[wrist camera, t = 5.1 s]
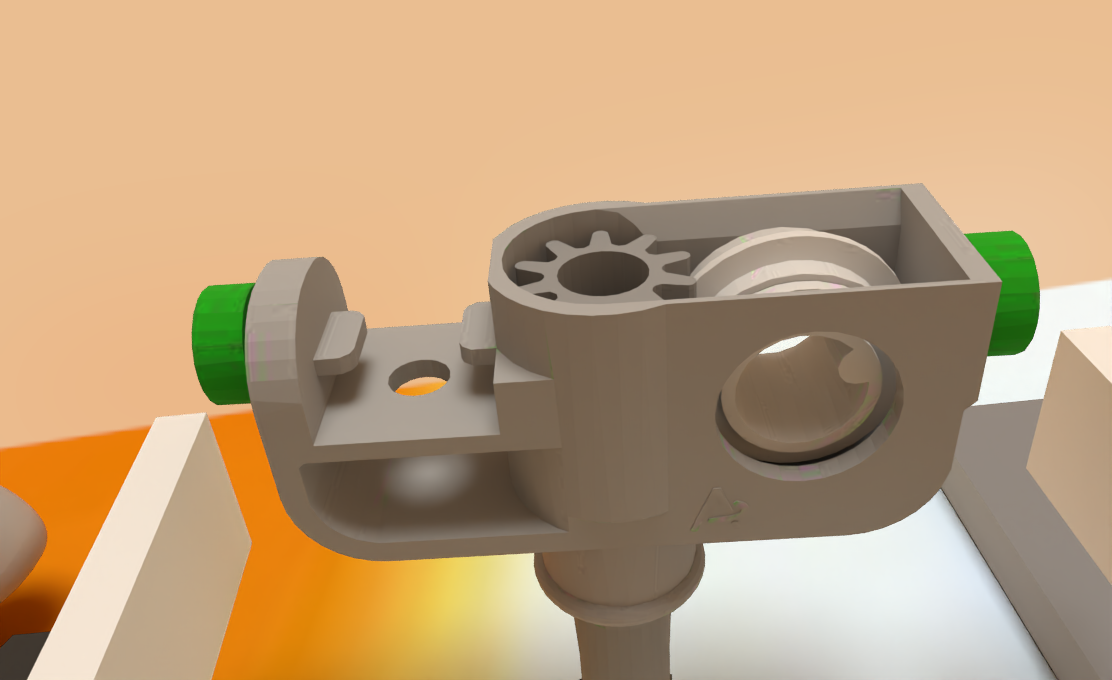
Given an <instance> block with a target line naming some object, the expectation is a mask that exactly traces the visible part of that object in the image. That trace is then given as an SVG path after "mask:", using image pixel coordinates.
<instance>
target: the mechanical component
mask: <svg viewBox="0 0 1112 680" xmlns="http://www.w3.org/2000/svg"><path fill="white" fill-rule="evenodd" d="M488 286H489V294H490V302H477V303H475V304H472V305H470V306H468V307H467V308H466V309H465V310H464V313H463V320H462V323H447V324H432V325H418V326H404V327H403V326H402V327H387V328H373V329H367V328H366V323H365V318H364V315H362V314H361V313H360V312H357V311H348V309H347V305H346V300H345V297H344V293H343V289H342V286H341V283H340V280H339V278H338V275H337V273H336V271H335V269H334V267H333V266H332V265H331V263H330V262H329V261H328V260H327V259H326V258H324V257H311V258H297V259H282V260H272V261H270V262H269V263H268V264H266V266H265V267H264V269H263V270H262V272H261V273H260V275H259V277H258V279H257V281H256V283H246V284H230V285H213V286H208V287H207V288H206V289H204V290H203V291H202V292H201V294H200V296H199V298H198V300H197V303H196V307H195V310H194V314H193V324H192V350H193V357H194V365H195V369H196V373H197V376H198V380H199V382H200V385H201V387H202V389H203V391H204V393H205V394H206V396H207V397H208V398H209V400H210V401H212V402H213V403H215V404H216V405H227V404H228V405H229V404H246V403H251V405H252V409H253V413H254V417H255V420H256V423H257V426H258V429H259V433H260V436H261V439H262V442H263V445H264V448H265V452H266V455H267V458H268V461H269V464H270V467H271V471H272V474H273V477H274V480H275V483H276V486H277V490H278V493H279V496H280V499H281V501H282V504H283V506H284V508H285V510H286V512H287V514H288V515H289V517H290V518H291V519H292V521H293V522H294V523H295V525H296V526H297V527H298V528H299V529H301V530H302V531H303V532H304V533H305V534H306V535H307V536H308V537H310V538H311V539H313V540H314V541H316V542H317V543H319V544H320V545H322V546H324V547H326V548H328V549H330V550H333V551H335V552H337V553H340V554H343V555H347V556H350V557H353V558H358V559H365V560H371V561H400V560H418V559H435V558H453V557H471V556H488V555H506V554H523V553H534V568H535V573H536V577H537V579H538V582H539V584H540V586H541V588H542V590H543V591H544V593H545V594H546V596H547V597H548V598H549V599H550V600H551V601H552V602H553V603H554V604H555V605H557V606H558V607H559V608H560V609H562V610H563V611H564V612H566V613H568V614H570V615H571V616H573V617H574V620H575V626H576V632H577V639H578V645H579V651H580V661H581V673H582V679H580V680H672V674H670V653H669V644H670V620H671V612H673V611H675V610H676V609H677V608H679V607H680V606H681V605H683V604H684V603H685V602H686V601H687V600H688V598H689V597H690V596H691V595H692V594H693V592H694V591H695V590H696V588H697V587H698V585H699V583H700V580H701V578H702V576H703V572H704V567H705V552H704V547H703V543H717V542H735V541H753V540H770V539H788V538H806V537H823V536H841V535H852V534H860V533H866V532H870V531H874V530H878V529H881V528H884V527H887V526H889V525H892V524H894V523H896V522H899V521H901V520H903V519H904V518H906V517H908V516H909V515H911V514H913V513H914V512H916V511H917V510H919V509H920V508H921V507H922V506H923V505H925V504H926V503H927V502H928V501H930V500H931V498H932V497H933V496H934V495H935V494H936V493H937V492H938V490H939V489H940V488H941V487H942V485H943V483H944V481H945V480H946V478H947V476H948V474H949V473H950V471H951V468H952V463H953V458H954V454H955V449H956V445H957V440H958V435H959V431H960V426H961V421H962V417H963V412H964V410H965V409H967V408H968V407H970V406H971V405H972V404H974V403H975V402H976V401H978V397H979V392H980V387H981V382H982V377H983V373H984V368H985V363H986V358H987V356H1002V355H1015V354H1018V353H1020V352H1023V351H1025V349H1026V348H1027V346H1028V345H1029V344H1030V342H1031V341H1032V339H1033V337H1034V333H1035V330H1036V327H1037V323H1038V317H1039V309H1040V289H1039V280H1038V274H1037V270H1036V265H1035V261H1034V258H1033V256H1032V253H1031V251H1030V249H1029V247H1028V245H1027V243H1026V242H1025V241H1024V239H1023V238H1022V237H1021V236H1020V235H1019V234H1017V233H1015V232H1014V231H1001V232H985V233H970V234H963V233H962V231H961V230H960V229H959V228H958V227H957V225H956V224H955V223H954V222H953V220H952V219H951V218H950V217H949V216H948V214H947V213H946V212H945V211H944V209H943V208H942V207H941V206H940V205H939V203H938V202H937V201H936V200H935V198H934V197H933V196H932V195H931V193H930V192H929V191H928V190H927V188H926V187H925V186H924V185H923V184H922V183H920V184H905V185H891V186H877V187H863V188H849V189H835V190H821V191H807V192H793V193H780V194H764V195H750V196H738V197H737V196H736V197H723V198H708V199H694V200H680V201H666V202H652V203H641V202H629V201H601V202H589V203H581V204H574V205H569V206H563V207H559V208H555V209H551V210H547V211H544V212H541V213H538V214H536V215H533V216H530V217H527V218H525V219H523V220H521V221H519V222H517V223H515V224H513V225H511V226H510V227H509V228H507V229H506V230H505V231H503V232H502V233H501V234H499V235H498V236H497V237H495V238H494V239H493V244H492V252H491V260H490V268H489V277H488ZM798 336H809V337H808V338H806V339H805V340H803V341H802V342H800V343H799V344H798V345H796V346H794V347H791V348H789V349H786V350H783V351H781V352H776V353H765V354H759V353H760V352H761V351H763V350H764V349H766V348H768V347H770V346H772V345H774V344H776V343H778V342H780V341H782V340H786V339H790V338H794V337H798ZM420 377H421V378H422V377H437V378H441V379H443V380H445V381H447V383H446V384H445V385H444V386H443V387H441V388H440V389H438V390H436V391H434V392H432V393H429V394H425V395H419V396H405V395H400V394H398V393H396V392H395V391H396V390H397V389H398V388H399V387H400V386H401V385H402V384H404V383H406V382H408V381H410V380H413V379H416V378H420Z"/></svg>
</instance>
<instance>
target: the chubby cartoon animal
mask: <svg viewBox="0 0 1112 680" xmlns="http://www.w3.org/2000/svg"><path fill="white" fill-rule="evenodd" d="M46 542H47V531H46V528H45V525H44V523H43V521H42V519H41V518H40V516H39V515H38V514H37V513H36V512H35V510H34V509H33V508H32V507H31V506H29V505H28V504H27V503H26V502H25V501H24V500H22V499H21V498H20V497H18V496H17V495H16V494H14V493H12V492H11V491H9V490H8V489H6V488H4V487H2V486H0V603H1V602H2V601H4V600H5V599H6V598H7V597H8V596H9V595H10V594H11V593H13V592H14V591H15V590H16V589H17V588H18V587H19V586H20V584H21V583H22V582H23V581H24V580H25V579H26V577H27V576H28V575H29V574H30V573H31V571H32V570H33V568H34V567H35V565H36V564H37V562H38V561H39V559H40V557H41V556H42V554H43V552H44V549H45V547H46Z"/></svg>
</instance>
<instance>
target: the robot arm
mask: <svg viewBox="0 0 1112 680" xmlns="http://www.w3.org/2000/svg"><path fill="white" fill-rule="evenodd" d="M1026 469H1027V470H1028V471H1029V473H1030V474H1031V475H1032V477H1033V478H1034V480H1035V481H1036V482H1037V484H1038V485H1039V486H1040V488H1041V489H1042V491H1043V492H1044V493H1045V495H1046V496H1047V497H1048V499H1049V500H1050V502H1051V503H1052V504H1053V506H1054V507H1055V508H1056V510H1057V511H1058V512H1059V514H1060V515H1061V517H1062V518H1063V519H1064V521H1065V522H1066V523H1067V525H1068V526H1069V528H1070V529H1071V530H1072V532H1073V533H1074V534H1075V536H1076V537H1077V539H1078V540H1079V541H1080V543H1081V544H1082V545H1083V547H1084V548H1085V549H1086V551H1087V552H1088V554H1089V555H1090V556H1091V558H1092V559H1093V560H1094V562H1095V563H1096V565H1097V566H1098V567H1099V569H1100V570H1101V571H1102V573H1103V574H1104V576H1105V577H1106V578H1107V580H1108V581H1109V582H1110V584H1111V585H1112V327H1111V326H1105V327H1094V328H1084V329H1074V330H1063V331H1061V333H1060V337H1059V341H1058V345H1057V348H1056V352H1055V356H1054V360H1053V364H1052V368H1051V372H1050V376H1049V380H1048V384H1047V388H1046V392H1045V395H1044V399H1043V403H1042V407H1041V411H1040V415H1039V419H1038V423H1037V427H1036V431H1035V435H1034V439H1033V442H1032V446H1031V450H1030V454H1029V458H1028V462H1027V466H1026ZM251 544H252V542H251V539H250V536H249V533H248V530H247V527H246V524H245V521H244V519H243V516H242V513H241V510H240V507H239V504H238V501H237V499H236V496H235V493H234V490H233V487H232V484H231V481H230V479H229V476H228V473H227V470H226V467H225V464H224V461H223V458H222V456H221V453H220V450H219V447H218V444H217V441H216V438H215V436H214V433H213V430H212V427H211V424H210V421H209V418H208V416H207V413H196V414H186V415H176V416H165V417H156V419H155V421H154V423H153V425H152V427H151V429H150V431H149V433H148V435H147V437H146V439H145V441H144V443H143V445H142V447H141V449H140V451H139V453H138V455H137V457H136V460H135V462H134V464H133V466H132V468H131V470H130V472H129V474H128V476H127V478H126V480H125V482H124V484H123V486H122V488H121V490H120V492H119V494H118V496H117V498H116V500H115V502H114V504H113V506H112V508H111V510H110V512H109V514H108V516H107V518H106V520H105V522H104V524H103V527H102V529H101V531H100V533H99V535H98V537H97V539H96V541H95V543H94V545H93V547H92V549H91V551H90V553H89V555H88V557H87V559H86V561H85V563H84V565H83V567H82V569H81V571H80V573H79V575H78V577H77V579H76V581H75V583H74V585H73V587H72V589H71V591H70V594H69V596H68V598H67V600H66V602H65V604H64V606H63V608H62V610H61V612H60V614H59V616H58V618H57V620H56V622H55V624H54V626H53V628H52V630H51V632H41V633H31V634H20V635H13V636H12V637H11V638H10V639H9V640H8V641H7V642H6V643H5V644H4V645H3V646H2V647H1V648H0V680H211V679H212V676H213V672H214V669H215V665H216V662H217V659H218V655H219V652H220V649H221V645H222V642H223V639H224V635H225V632H226V628H227V625H228V622H229V618H230V615H231V612H232V608H233V605H234V602H235V598H236V595H237V591H238V588H239V585H240V581H241V578H242V575H243V571H244V568H245V565H246V561H247V558H248V554H249V551H250V548H251Z"/></svg>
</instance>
